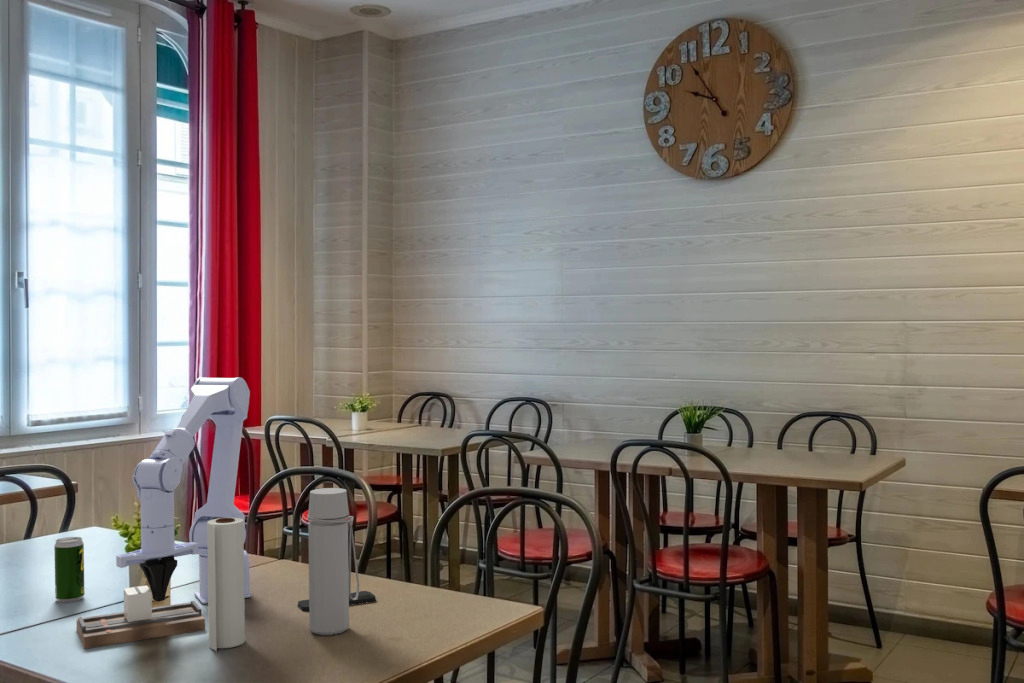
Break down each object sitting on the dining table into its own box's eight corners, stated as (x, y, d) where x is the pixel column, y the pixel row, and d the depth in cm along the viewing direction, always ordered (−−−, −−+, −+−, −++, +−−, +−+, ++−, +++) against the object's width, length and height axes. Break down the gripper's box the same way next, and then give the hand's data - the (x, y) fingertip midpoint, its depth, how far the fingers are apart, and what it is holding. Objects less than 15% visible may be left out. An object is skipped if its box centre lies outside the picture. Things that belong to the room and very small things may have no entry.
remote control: (302, 617, 187) (377, 603, 193) (302, 607, 187) (377, 594, 193) (296, 610, 191) (370, 597, 198) (295, 601, 191) (369, 588, 198)
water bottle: (315, 639, 170) (313, 496, 169) (303, 627, 177) (301, 489, 176) (366, 631, 174) (364, 491, 174) (352, 620, 181) (350, 485, 181)
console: (191, 612, 187) (190, 596, 187) (205, 629, 176) (204, 613, 176) (76, 629, 177) (76, 613, 177) (84, 648, 166) (84, 631, 166)
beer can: (57, 604, 193) (56, 543, 192) (53, 598, 197) (52, 538, 197) (87, 600, 196) (86, 540, 195) (82, 594, 200) (81, 535, 200)
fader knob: (147, 611, 179) (146, 584, 179) (152, 618, 175) (151, 591, 175) (124, 614, 177) (123, 588, 177) (128, 622, 173) (127, 594, 173)
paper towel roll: (231, 635, 173) (230, 514, 172) (252, 642, 169) (250, 519, 168) (195, 646, 167) (193, 521, 167) (216, 653, 163) (214, 525, 163)
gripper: (185, 516, 186) (186, 587, 186) (108, 528, 175) (109, 603, 176) (203, 521, 181) (204, 594, 181) (125, 533, 170) (126, 611, 171)
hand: (158, 599), depth 178 cm, fingers closed
